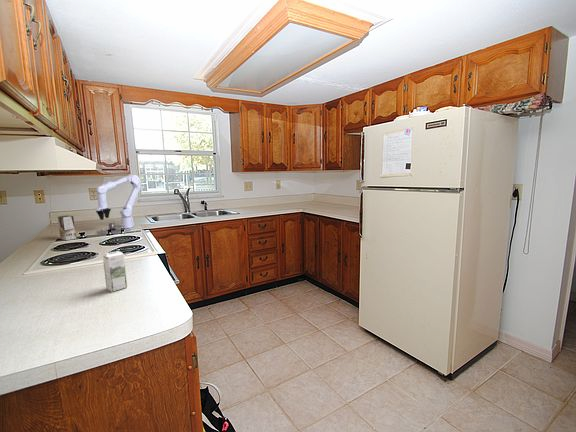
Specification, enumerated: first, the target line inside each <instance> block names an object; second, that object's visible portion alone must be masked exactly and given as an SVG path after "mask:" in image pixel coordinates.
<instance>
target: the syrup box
mask: <svg viewBox="0 0 576 432" xmlns="http://www.w3.org/2000/svg"><path fill="white" fill-rule="evenodd" d="M102 260H103V268H104V269H103V270H104V276H105V277H104V278H105V287H106V289H107V290H108V291H110V292H111V293H113V292H117V291H120V290H124V289H126V288H128V281H127V271H126V264H125V263H126V261H125V254H124V253H123V252H121V251H118V250H117V251H112V252H107V253H104V254H102Z"/></svg>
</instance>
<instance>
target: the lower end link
mask: <svg viewBox="0 0 576 432" xmlns="http://www.w3.org/2000/svg"><path fill="white" fill-rule="evenodd" d="M124 229H125V230H124V233H123V234H126V233H128V232H130V231H131V228H124ZM106 233H107V232H103V233H102V234H101V235H105V234H106ZM112 234H122V233H121V230H120V231H118V232H112ZM106 235H107V234H106Z"/></svg>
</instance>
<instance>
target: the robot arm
mask: <svg viewBox="0 0 576 432" xmlns="http://www.w3.org/2000/svg"><path fill="white" fill-rule="evenodd" d="M124 183H130V184H131V186H132V190H131V192H130V194H129V196H128V198H127V200H126V203H125V204H124V205H123V207H122V208H121V209H120V211H119V214H120V215H121V227H120V228H122V229H131V228H133V227H136V224H135V223H134V218H133V216H132V214H133V206H134V203H135V202H136V200H137V197H138V195H139V192H140V190H141V187H142V186H141V185H142V184H141V178H140V177H139V176H138V175H136V174H129V175H126V176H124V177H122V178H119V179H117V180H115V181H107V182H106V183H103V184H101V185H99V186H97V187H96V188H95V192H96V193H97V203H98V207H97V208H96V210H95V213H96V214H97V216H98V217H99V219H100V220H103V221H104V219H108V218H109V217H110V213H111V210H112V208H110V205H108V201H107V200H108V199H107V192H109V191H111V190H114V189H116V187H117V186H118V185H122V184H124ZM104 217H105V218H104Z"/></svg>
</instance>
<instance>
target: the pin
mask: <svg viewBox="0 0 576 432" xmlns="http://www.w3.org/2000/svg"><path fill="white" fill-rule="evenodd" d="M115 228H116V223H115V222H108V229H109V230H115Z"/></svg>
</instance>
